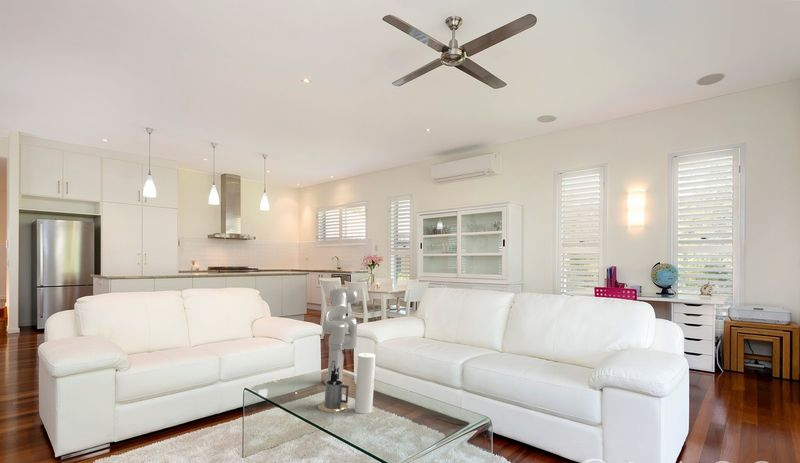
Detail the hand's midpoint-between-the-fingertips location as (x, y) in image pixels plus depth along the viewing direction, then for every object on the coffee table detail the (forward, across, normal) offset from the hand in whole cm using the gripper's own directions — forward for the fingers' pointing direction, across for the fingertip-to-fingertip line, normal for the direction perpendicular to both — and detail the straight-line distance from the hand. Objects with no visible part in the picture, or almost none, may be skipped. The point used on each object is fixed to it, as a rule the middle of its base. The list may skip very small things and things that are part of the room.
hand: (334, 379), depth 230 cm
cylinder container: (+15, 0, +17) cm, 22 cm away
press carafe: (+14, 0, 0) cm, 14 cm away
